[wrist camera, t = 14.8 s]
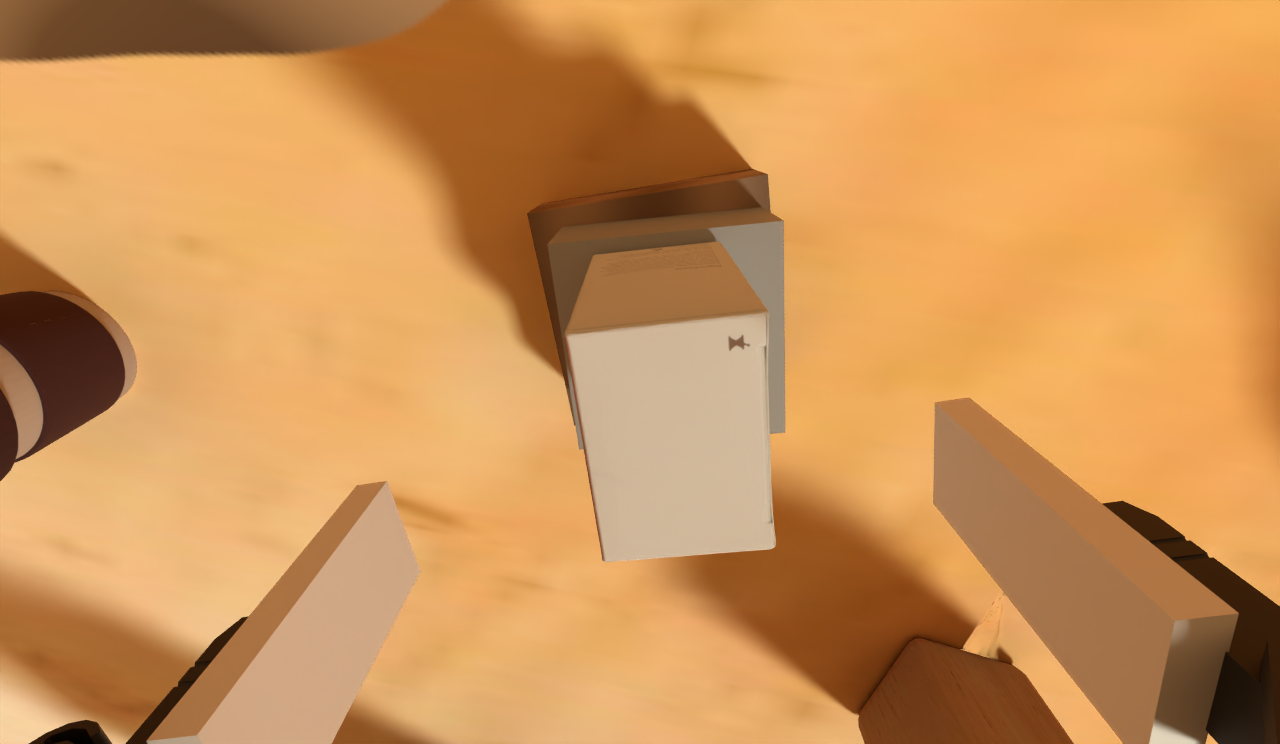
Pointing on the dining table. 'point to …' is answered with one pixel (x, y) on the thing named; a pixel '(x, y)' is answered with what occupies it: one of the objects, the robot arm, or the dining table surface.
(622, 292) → the small box
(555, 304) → the tower base
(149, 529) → the dining table surface
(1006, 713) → the block
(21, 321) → the coffee cup
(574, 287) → the tower top
